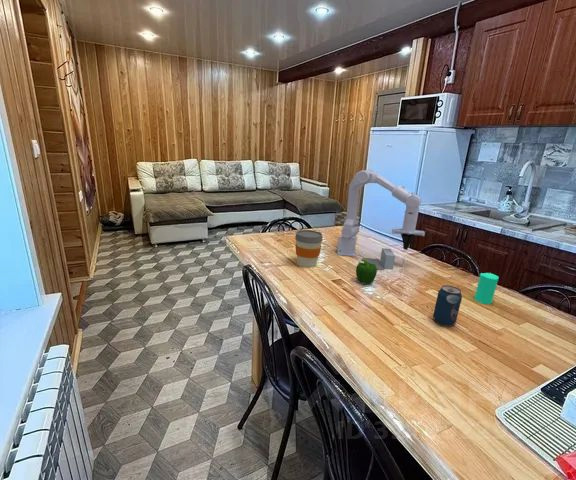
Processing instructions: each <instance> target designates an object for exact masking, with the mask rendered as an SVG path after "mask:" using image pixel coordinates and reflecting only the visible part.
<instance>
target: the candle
mask: <svg viewBox="0 0 576 480" xmlns="http://www.w3.org/2000/svg"><path fill="white" fill-rule="evenodd" d="M498 282H499V276H498V275H496V274H494V273H491V271H490V272H484V273H482V272H480V275H479V279H478V283H477V286H476V291H475V294H474V300H475V301H476V302H477V303H480V304H483V305H492V304H493V299H494V296H495V292H496V289H497V285H498ZM491 303H492V304H491Z"/></svg>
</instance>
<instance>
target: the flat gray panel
mask: <svg viewBox="0 0 576 480" xmlns="http://www.w3.org/2000/svg"><path fill="white" fill-rule="evenodd" d="M362 259H366V260H367V261H368V262H369V263H371V264H375V265H376V268H377V271H384V270H385V269H384V267H383V266H382V264H381V262H380V260H379V258H372V257H371V258H369V257H362ZM363 263H365V261H363Z"/></svg>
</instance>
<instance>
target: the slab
mask: <svg viewBox="0 0 576 480" xmlns="http://www.w3.org/2000/svg"><path fill="white" fill-rule="evenodd" d="M395 259H396V254H395V253H394V252H393V251H392V249H391V248H381V254H380V260H379V261H380V263H381V265H382V266H383V268H384V270H392V271H393V270H394V265H395Z"/></svg>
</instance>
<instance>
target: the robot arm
mask: <svg viewBox="0 0 576 480" xmlns="http://www.w3.org/2000/svg"><path fill="white" fill-rule="evenodd" d="M368 184H378V185H379V186H381V187H383V188H384V189H386V190H388V191H389V192H391V196H392V197H394V198H395V199H397V200H398V201H400V202H401V203H403V204H404V205H405V207H406V208H405V211H404V216H403V221H402V228H392V229H391V234H392V235H400V236H401V239H402V246H403V250H408V249H409V246H410V245H411V243H412V241H414V239H415V237H416V236H422V237H425V234H426V231H424V230H417V229H416V228H417V222H418V217H419V210H420V208H419V207H420V205H421V203H422V198H421V197H420V196H419V195H418V194H415V192H413V191H410V190H409V189H406V186H404V185H395V183H392V182H391V181H390V180H388V179H386V178H385V177H384V176H382V175H381V174H379V173H378V172H376V171H374V170H372V169H364V170H363V169H362V170H360V171H358V172H357V173H355V175H354V177H353V178H352V180H351V181H350V183H349V186H348V187H349V188H348V194H347V195H348V196H347V206H346V208H347V209H346V218H345V220H344V223H343V227H342V228H341V230H340V231H341V234H340V235H341V236H338V238H337V244H336V245H337V246H336V254H337V255H338V256H348V257H349V256H350V257H356V256H357V254H356V252H355V251H356V244H357V234H358V233H359V232H360V227H359V221H358V209H359V202H360V201H359V198H360V190H361V189H362V187H364V186H365V185H368Z"/></svg>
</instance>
